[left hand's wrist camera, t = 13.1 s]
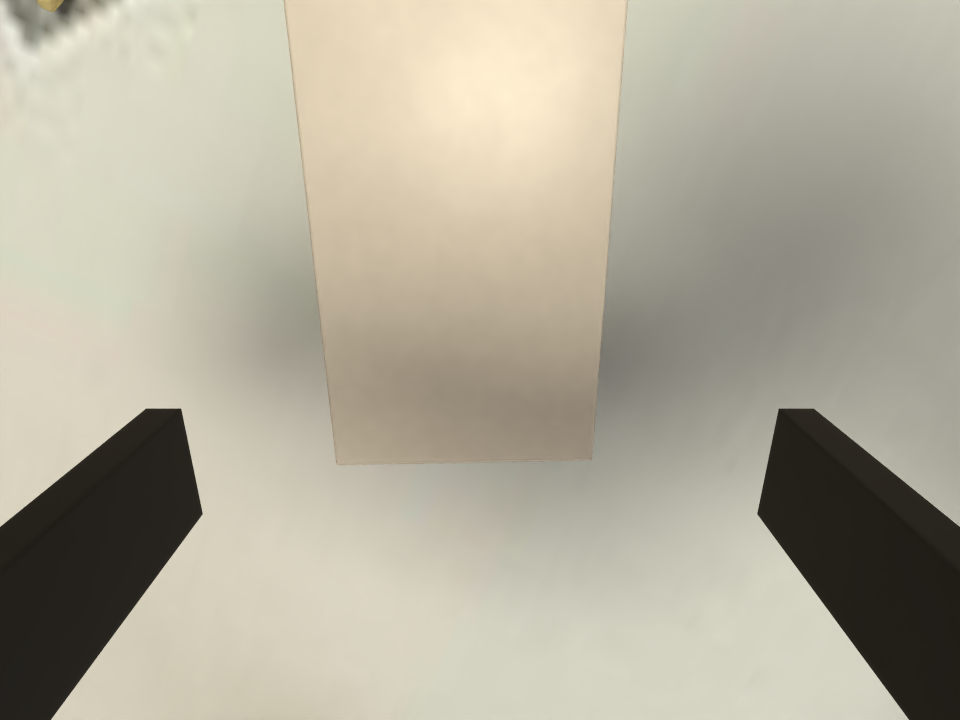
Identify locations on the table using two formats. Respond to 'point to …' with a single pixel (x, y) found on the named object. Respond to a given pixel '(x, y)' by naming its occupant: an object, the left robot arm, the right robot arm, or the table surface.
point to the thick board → (459, 219)
